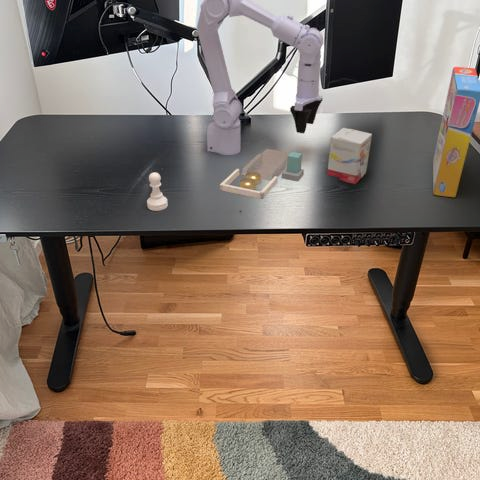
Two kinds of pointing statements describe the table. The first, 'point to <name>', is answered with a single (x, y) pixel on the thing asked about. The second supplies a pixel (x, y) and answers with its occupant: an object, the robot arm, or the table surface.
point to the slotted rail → (267, 164)
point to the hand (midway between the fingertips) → (305, 127)
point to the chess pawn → (156, 194)
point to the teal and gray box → (293, 167)
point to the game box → (455, 130)
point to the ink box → (349, 155)
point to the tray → (242, 191)
